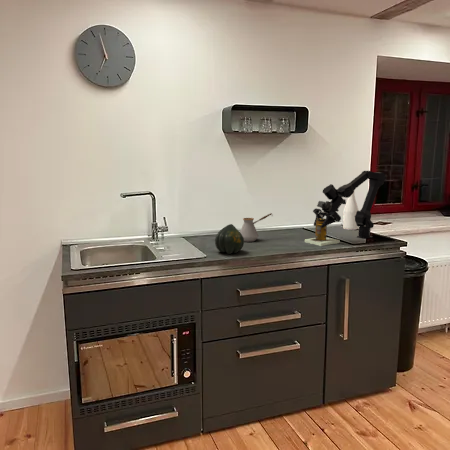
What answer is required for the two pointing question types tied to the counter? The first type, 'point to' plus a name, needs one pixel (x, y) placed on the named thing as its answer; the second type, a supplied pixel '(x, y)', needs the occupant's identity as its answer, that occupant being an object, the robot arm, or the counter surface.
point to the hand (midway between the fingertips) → (317, 226)
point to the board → (322, 243)
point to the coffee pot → (250, 229)
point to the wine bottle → (350, 214)
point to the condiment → (320, 231)
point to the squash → (229, 240)
